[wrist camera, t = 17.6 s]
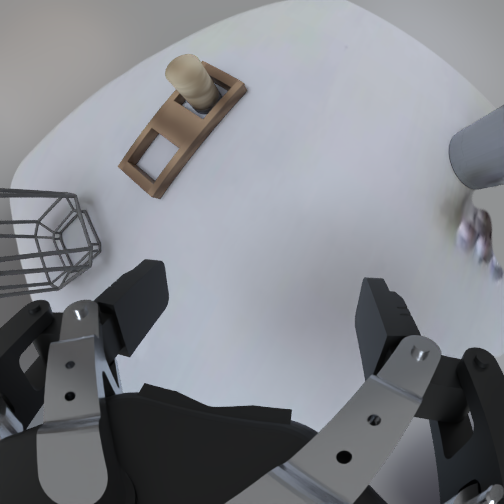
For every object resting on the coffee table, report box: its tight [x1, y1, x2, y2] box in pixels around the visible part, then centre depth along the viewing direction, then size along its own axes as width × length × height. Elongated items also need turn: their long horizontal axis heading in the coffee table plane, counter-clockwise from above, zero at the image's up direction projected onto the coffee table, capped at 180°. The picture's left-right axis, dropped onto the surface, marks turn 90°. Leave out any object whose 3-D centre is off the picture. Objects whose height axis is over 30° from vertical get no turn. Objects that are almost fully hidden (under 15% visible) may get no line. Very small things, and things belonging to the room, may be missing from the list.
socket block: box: [118, 61, 247, 199], centre depth 36 cm, size 20×8×2 cm, turn 141°
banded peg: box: [165, 54, 222, 114], centre depth 32 cm, size 4×4×10 cm
